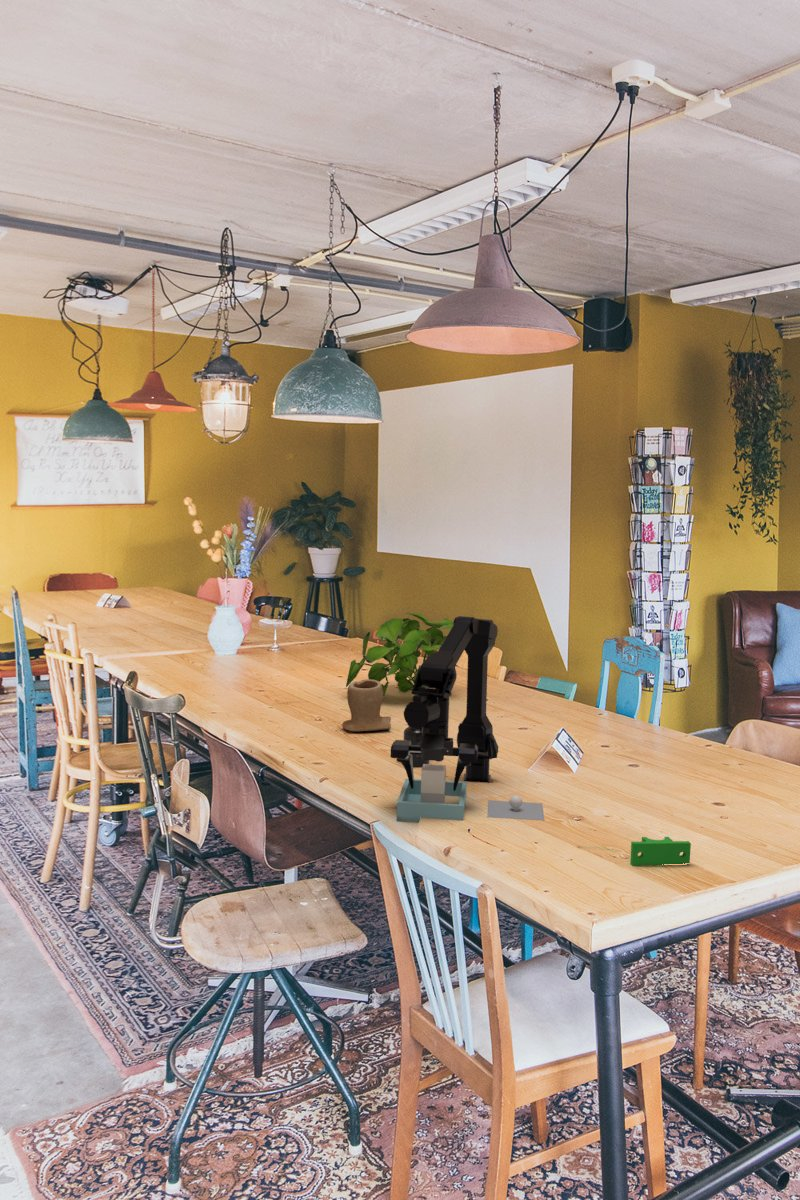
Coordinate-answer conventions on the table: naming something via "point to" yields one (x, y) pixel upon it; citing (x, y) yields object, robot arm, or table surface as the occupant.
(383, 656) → the indoor plant
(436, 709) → the robot arm
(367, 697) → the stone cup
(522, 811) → the stud base
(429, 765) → the beige rectangular block
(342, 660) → the table surface
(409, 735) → the supplement bottle
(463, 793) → the bin
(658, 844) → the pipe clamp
